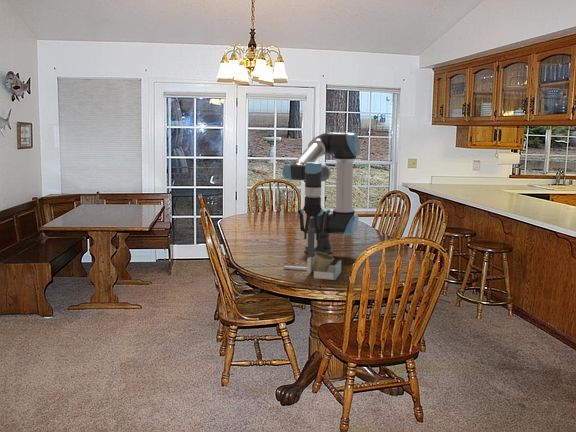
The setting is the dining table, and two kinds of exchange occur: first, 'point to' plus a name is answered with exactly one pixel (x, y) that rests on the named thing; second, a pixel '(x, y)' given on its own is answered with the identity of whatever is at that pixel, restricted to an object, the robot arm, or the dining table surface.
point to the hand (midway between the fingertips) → (311, 246)
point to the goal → (329, 272)
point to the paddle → (311, 250)
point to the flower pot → (322, 262)
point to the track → (295, 268)
